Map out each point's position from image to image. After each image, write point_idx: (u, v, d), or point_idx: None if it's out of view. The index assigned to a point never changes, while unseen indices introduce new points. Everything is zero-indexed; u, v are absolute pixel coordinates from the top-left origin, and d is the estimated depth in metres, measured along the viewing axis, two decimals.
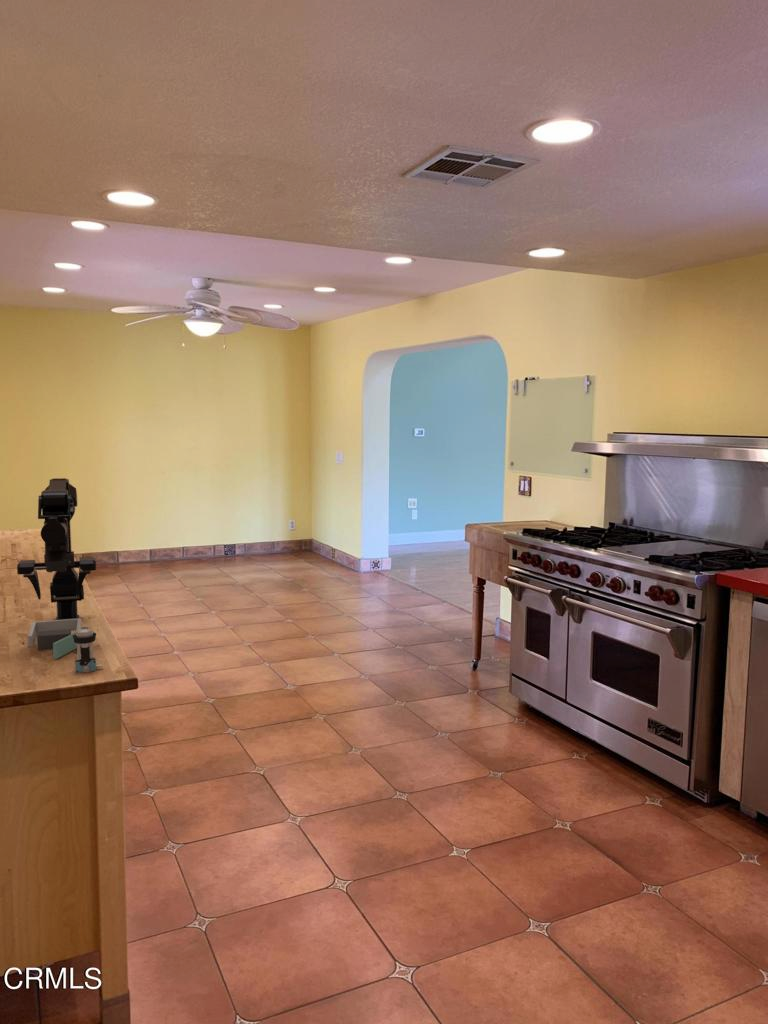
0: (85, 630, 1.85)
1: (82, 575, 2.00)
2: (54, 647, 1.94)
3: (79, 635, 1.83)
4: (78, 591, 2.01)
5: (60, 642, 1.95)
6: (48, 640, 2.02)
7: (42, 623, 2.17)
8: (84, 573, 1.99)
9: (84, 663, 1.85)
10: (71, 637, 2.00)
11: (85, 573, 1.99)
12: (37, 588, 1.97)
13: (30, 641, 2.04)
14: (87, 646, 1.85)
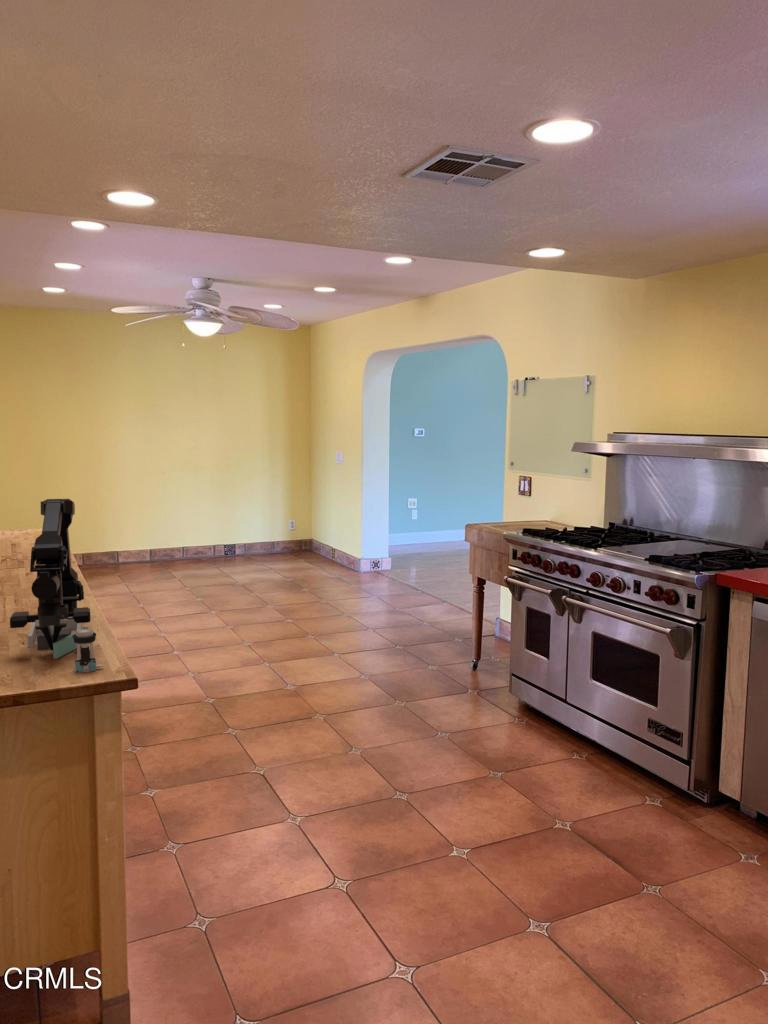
0: (85, 630, 1.85)
1: (57, 628, 1.95)
2: (54, 647, 1.94)
3: (79, 635, 1.83)
4: None
5: (60, 642, 1.95)
6: None
7: None
8: (59, 627, 1.94)
9: (84, 663, 1.85)
10: (71, 637, 2.00)
11: (61, 626, 1.94)
12: (49, 639, 1.95)
13: (30, 641, 2.04)
14: (87, 646, 1.85)
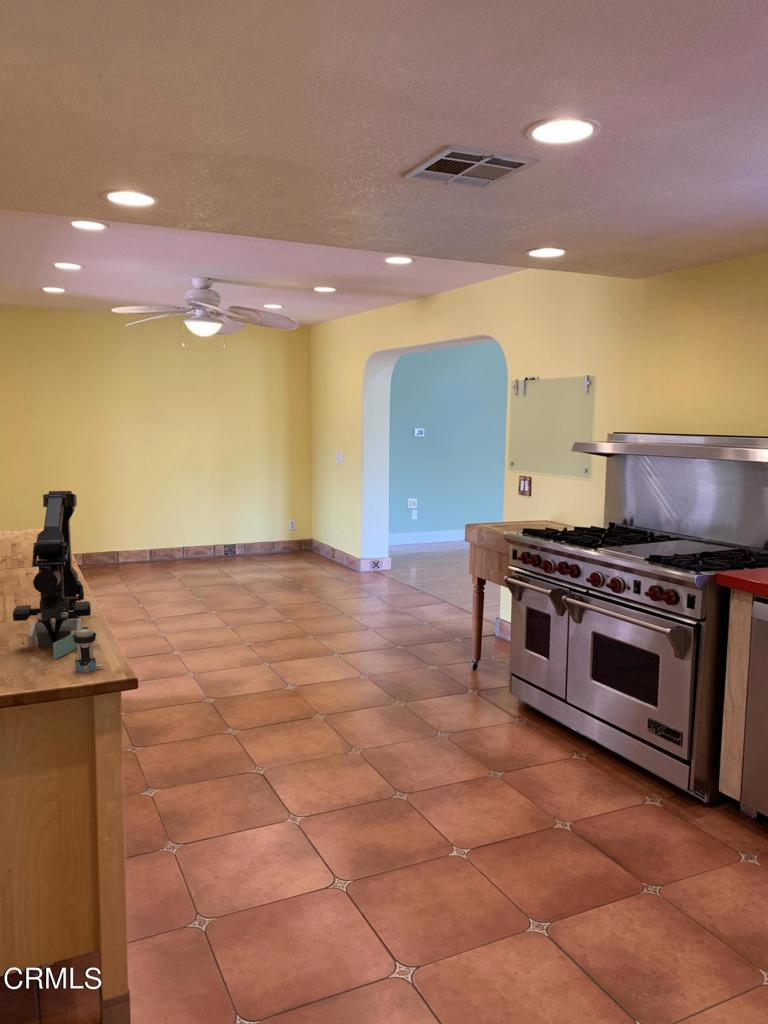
0: (85, 630, 1.85)
1: (59, 622, 2.01)
2: (54, 647, 1.94)
3: (79, 635, 1.83)
4: (55, 637, 2.03)
5: (60, 642, 1.95)
6: (48, 637, 2.04)
7: (42, 623, 2.17)
8: (61, 620, 2.01)
9: (84, 663, 1.85)
10: (71, 637, 2.00)
11: (62, 620, 2.01)
12: (51, 632, 2.02)
13: (30, 641, 2.04)
14: (87, 646, 1.85)
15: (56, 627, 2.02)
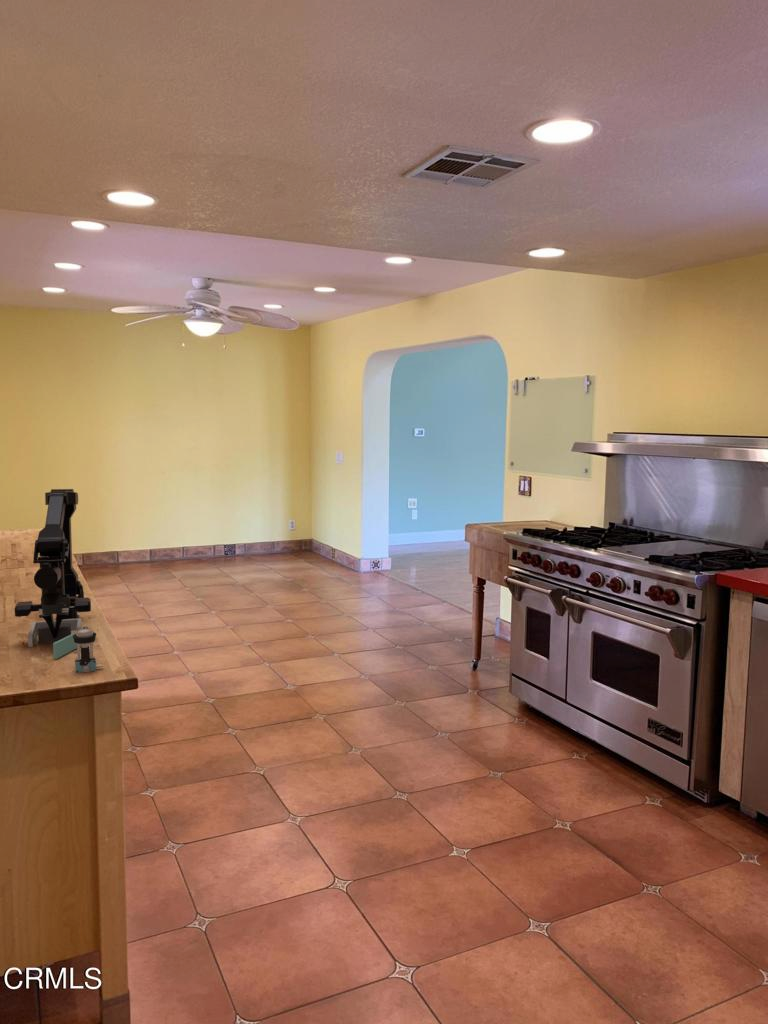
0: (85, 630, 1.85)
1: (60, 617, 2.06)
2: (54, 647, 1.94)
3: (79, 635, 1.83)
4: (56, 632, 2.07)
5: (60, 642, 1.95)
6: (48, 633, 2.08)
7: (42, 623, 2.17)
8: (61, 615, 2.05)
9: (84, 663, 1.85)
10: (71, 637, 2.00)
11: (62, 615, 2.05)
12: (52, 627, 2.06)
13: (30, 641, 2.04)
14: (87, 646, 1.85)
15: (57, 623, 2.06)
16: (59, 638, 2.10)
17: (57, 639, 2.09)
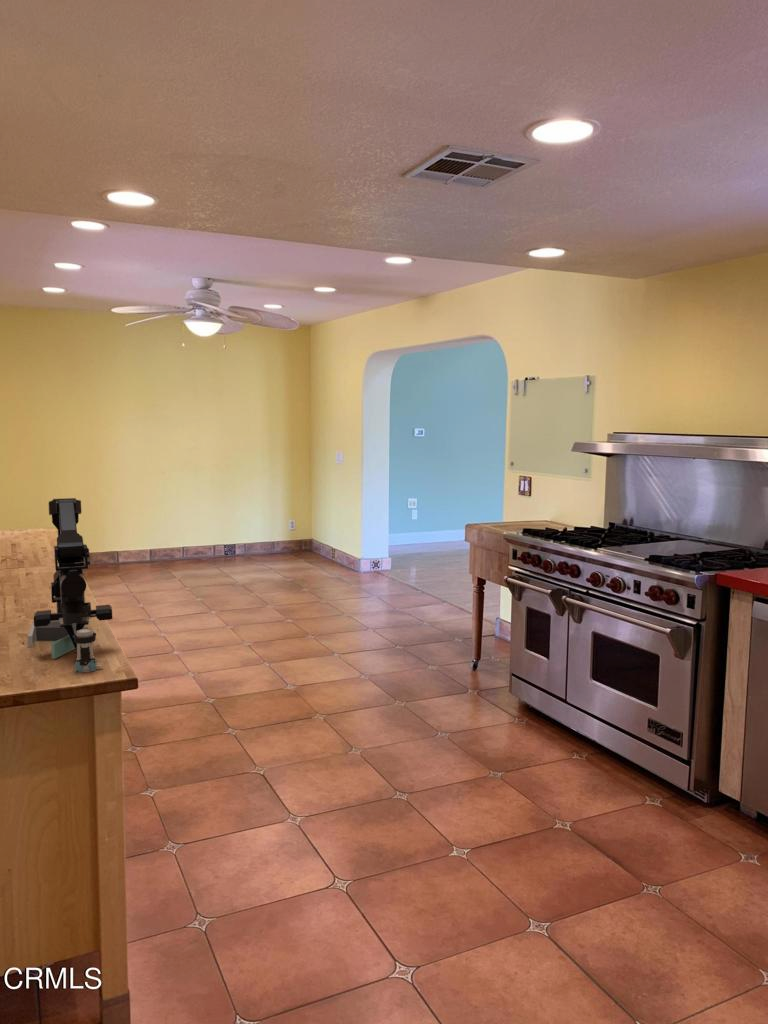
0: (85, 630, 1.85)
1: (80, 626, 1.97)
2: (52, 647, 1.94)
3: (79, 635, 1.83)
4: None
5: (59, 642, 1.95)
6: (46, 632, 2.09)
7: None
8: (82, 624, 1.96)
9: (84, 663, 1.85)
10: None
11: (83, 624, 1.97)
12: None
13: (30, 641, 2.04)
14: (87, 646, 1.85)
15: None
16: (56, 638, 2.10)
17: (54, 639, 2.10)
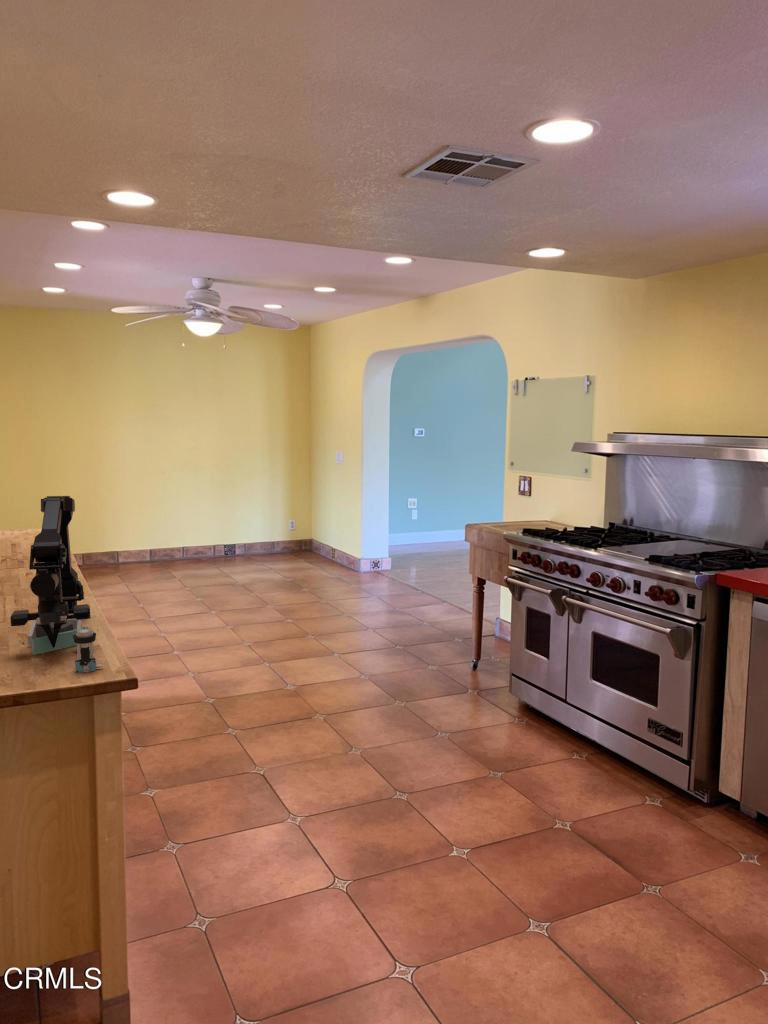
0: (85, 630, 1.85)
1: (57, 626, 1.96)
2: (32, 643, 1.97)
3: (79, 635, 1.83)
4: (54, 642, 1.98)
5: (41, 639, 1.98)
6: (45, 632, 2.10)
7: None
8: (59, 624, 1.96)
9: (84, 663, 1.85)
10: (59, 635, 2.02)
11: (60, 624, 1.96)
12: (51, 636, 1.97)
13: (30, 641, 2.04)
14: (87, 646, 1.85)
15: (55, 631, 1.97)
16: None
17: None
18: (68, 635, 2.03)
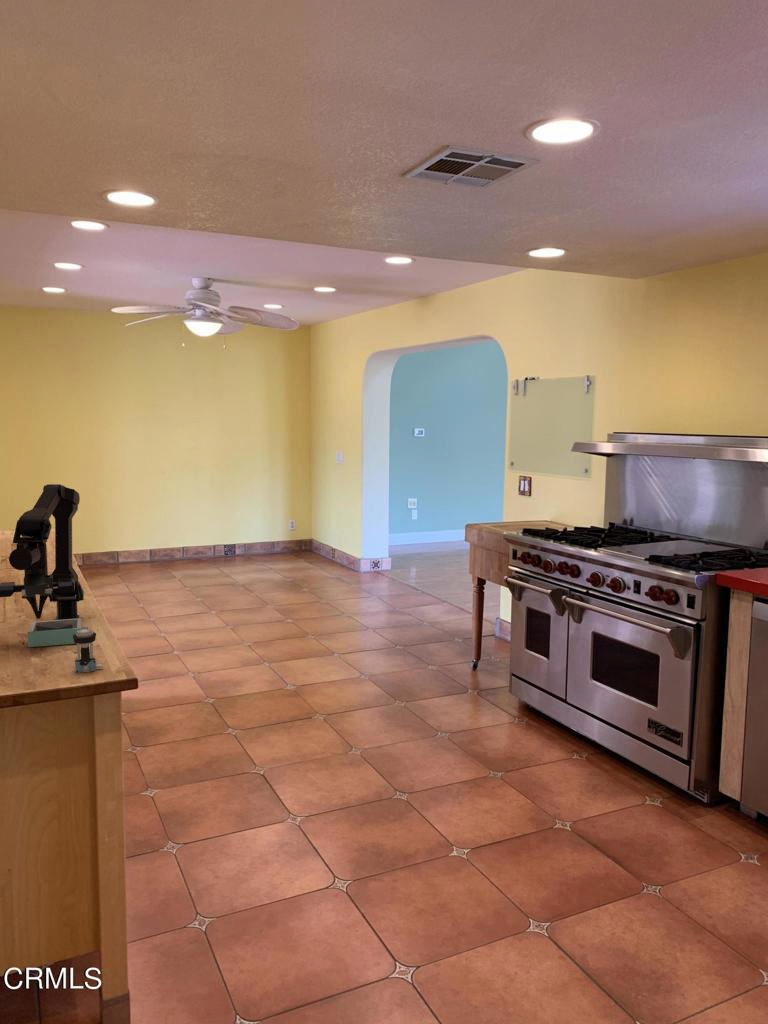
0: (85, 630, 1.85)
1: (43, 598, 2.04)
2: None
3: (79, 635, 1.83)
4: (39, 613, 2.06)
5: (35, 633, 2.03)
6: None
7: (42, 623, 2.17)
8: (45, 596, 2.04)
9: (84, 663, 1.85)
10: (55, 632, 2.05)
11: (46, 596, 2.04)
12: (35, 608, 2.05)
13: None
14: (87, 646, 1.85)
15: (40, 603, 2.05)
16: None
17: None
18: (65, 633, 2.06)
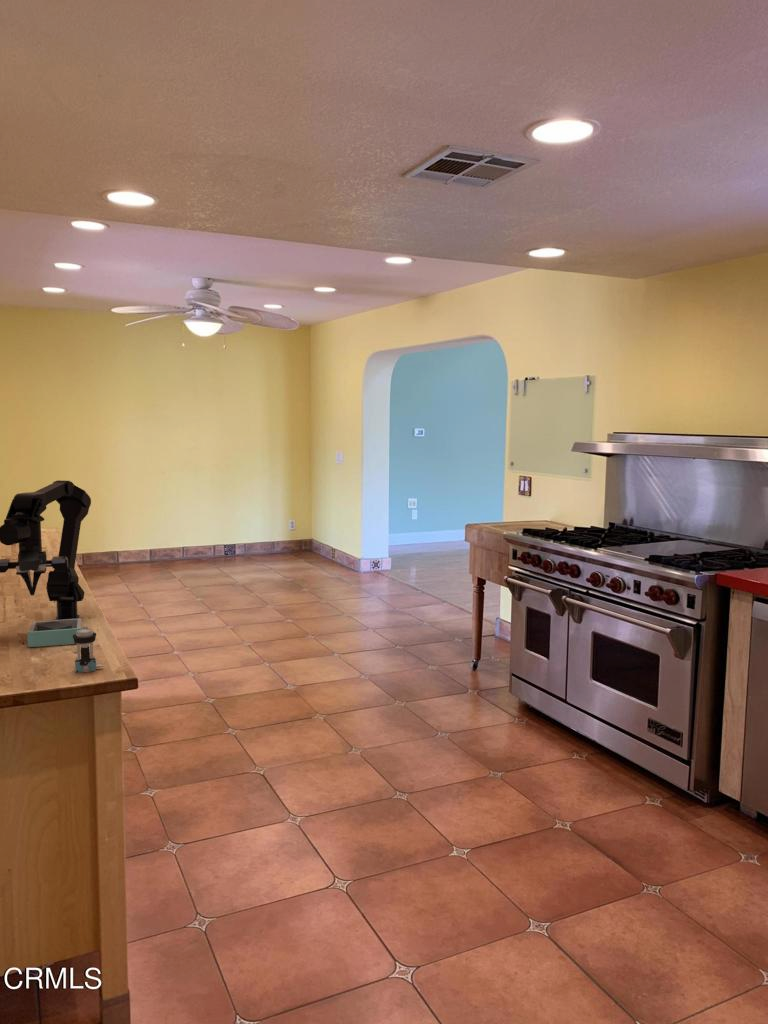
0: (85, 630, 1.85)
1: (37, 574, 2.09)
2: None
3: (79, 635, 1.83)
4: (33, 590, 2.11)
5: (35, 633, 2.03)
6: None
7: (42, 623, 2.17)
8: (39, 573, 2.09)
9: (84, 663, 1.85)
10: (55, 632, 2.05)
11: (40, 573, 2.09)
12: (29, 585, 2.10)
13: None
14: (87, 646, 1.85)
15: (34, 580, 2.10)
16: None
17: None
18: (65, 633, 2.06)
